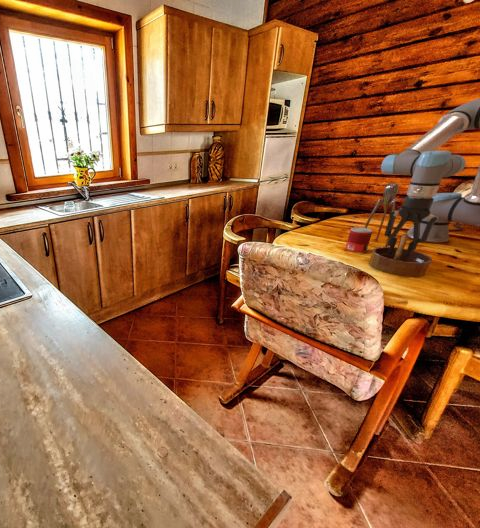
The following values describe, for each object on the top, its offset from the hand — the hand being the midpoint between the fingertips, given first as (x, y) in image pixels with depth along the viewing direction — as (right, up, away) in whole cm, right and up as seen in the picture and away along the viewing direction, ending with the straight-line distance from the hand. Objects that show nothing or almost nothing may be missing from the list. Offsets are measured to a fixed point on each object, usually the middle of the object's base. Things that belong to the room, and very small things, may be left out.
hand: (397, 255), depth 110 cm
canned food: (+2, +3, +23) cm, 24 cm away
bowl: (+3, -5, +4) cm, 8 cm away
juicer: (+16, +7, +31) cm, 36 cm away
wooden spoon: (0, -6, +2) cm, 6 cm away
